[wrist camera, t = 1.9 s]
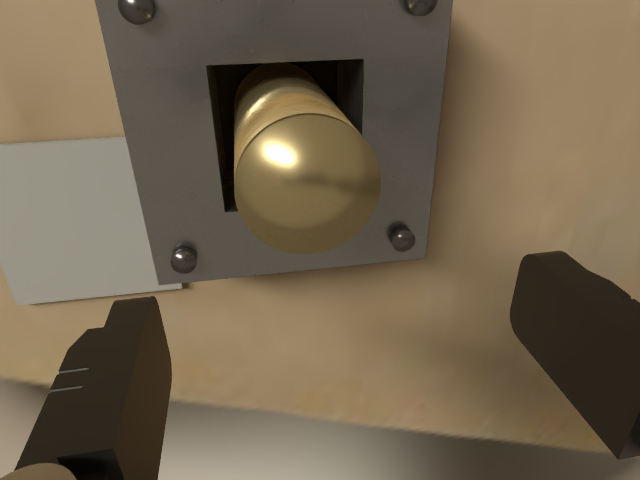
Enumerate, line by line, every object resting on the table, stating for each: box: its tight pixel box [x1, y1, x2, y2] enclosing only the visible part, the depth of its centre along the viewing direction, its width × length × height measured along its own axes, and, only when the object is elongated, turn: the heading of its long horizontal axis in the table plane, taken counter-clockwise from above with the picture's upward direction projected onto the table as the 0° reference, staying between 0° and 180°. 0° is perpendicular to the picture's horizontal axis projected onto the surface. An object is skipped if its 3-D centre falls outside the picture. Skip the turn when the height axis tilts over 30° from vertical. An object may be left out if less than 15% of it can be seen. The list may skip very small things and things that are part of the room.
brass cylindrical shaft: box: [234, 62, 381, 255], centre depth 21 cm, size 5×5×12 cm
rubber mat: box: [0, 137, 183, 306], centre depth 27 cm, size 10×10×1 cm
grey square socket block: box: [95, 0, 453, 285], centre depth 23 cm, size 14×14×7 cm
